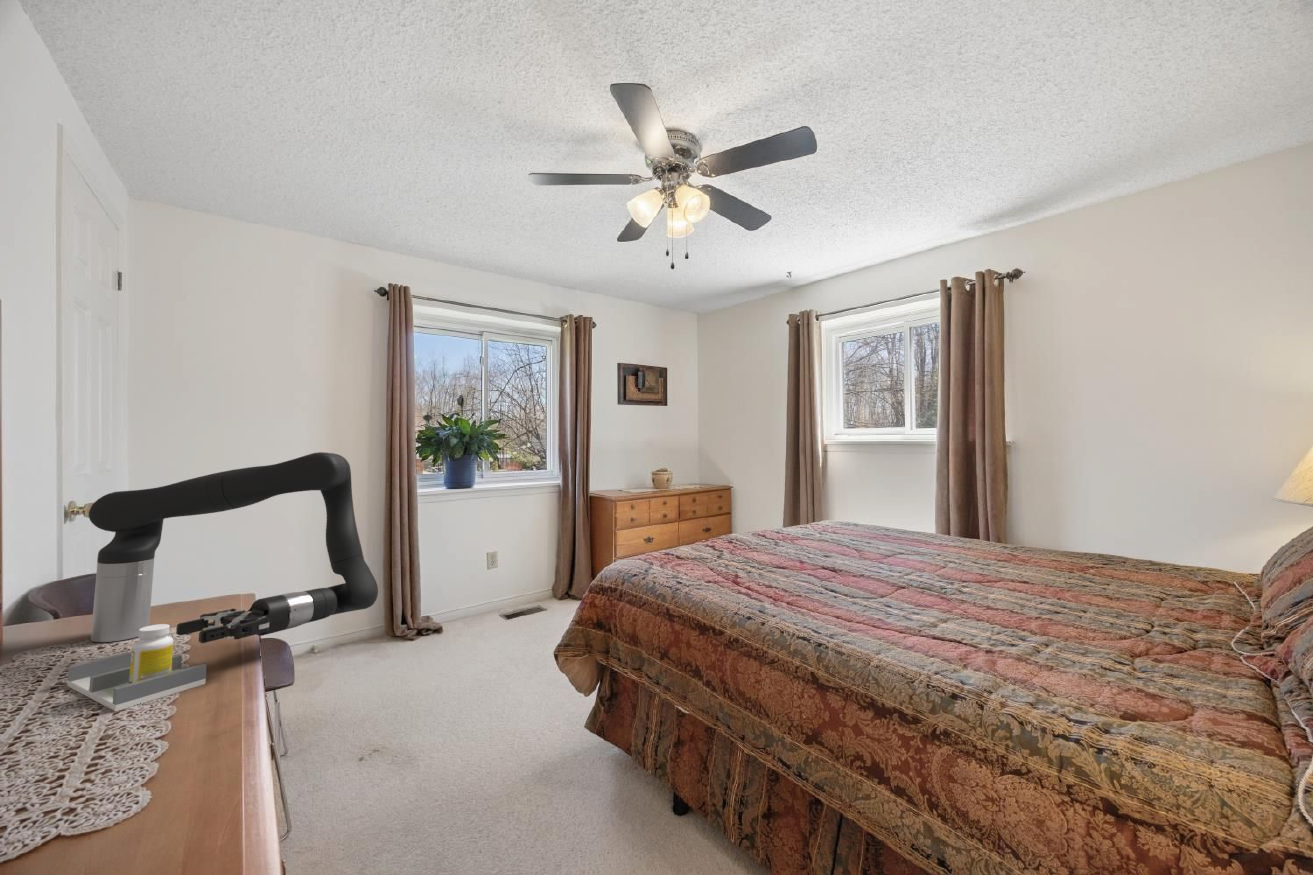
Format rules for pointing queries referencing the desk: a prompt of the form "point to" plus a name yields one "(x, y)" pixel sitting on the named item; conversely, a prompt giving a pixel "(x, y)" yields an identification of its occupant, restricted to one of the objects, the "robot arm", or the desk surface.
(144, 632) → the supplement bottle
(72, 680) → the divided tray
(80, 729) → the desk surface
